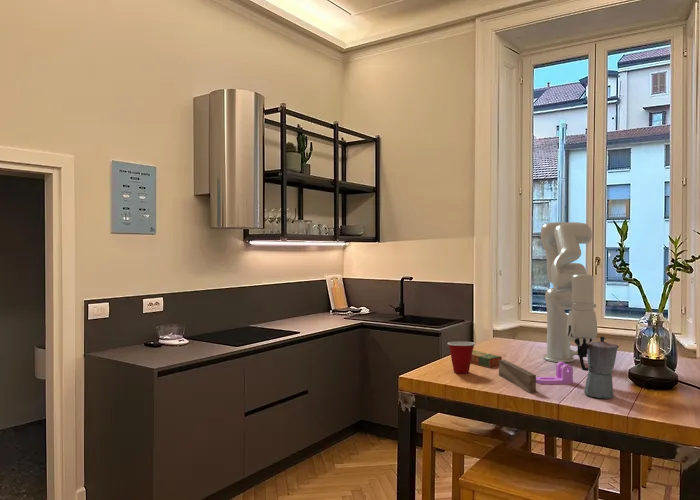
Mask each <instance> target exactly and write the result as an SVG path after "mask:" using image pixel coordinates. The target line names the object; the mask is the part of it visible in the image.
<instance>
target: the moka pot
mask: <svg viewBox="0 0 700 500" xmlns="http://www.w3.org/2000/svg"><path fill="white" fill-rule="evenodd" d="M599 338H600V340H599V341H591V342H589V343H583V344H582V345H581V346H580V347H579V349H578V348H577V351H578V354H579V356H578V358H579V362H580V366H581V369H582V371H585V372H588V373H587V377H586V381H585V386H584V389H583V390H584V391H583V392H584V394H585V395H586V396H589V397H592V398H597V399H606V400H607V399H613V398H614V388H613V387H614V386H613V375H612V374H613V370H614V369H615V364H616V359H617V353H618V352H617V351H618V348H620V346H619V345H618V344H614V343H611V342H610V343H609V342H606V341H605V339H606V336H599ZM583 348H585V349H587V365H588V367H586V366H585V363H584V362H585V361H584V357H583V354H582V349H583Z"/></svg>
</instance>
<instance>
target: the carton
mask: <svg viewBox="0 0 700 500" xmlns="http://www.w3.org/2000/svg"><path fill="white" fill-rule="evenodd" d="M502 358H503V357H502V356H501V355H496V354H492V353H487V352H483V351H480V350H475V349H473V351H472V358H471V365H472V364H474V365H477V366H481V367H484V368H488V369H489V368H495V367H499V360H503V359H502Z"/></svg>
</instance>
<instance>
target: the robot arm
mask: <svg viewBox="0 0 700 500" xmlns="http://www.w3.org/2000/svg"><path fill="white" fill-rule="evenodd" d="M592 238H593V232H592V228H591V227H590V225H589V224H587V223H584V222H573V221H570V222H565V221H562V222H561V221H560V222H559V221H558V222H555V221H553V222H547V223H545V224H543V225H542V227H541V230H540V239H541V243H542V245H543V248H544V250H545V251H544V252H545V254H546V271H547V279H548V282H549V283H550V284H552V286H553V287H550V288H548V289H547V290H546V291H545V293H544V294H545V295H544V300H545V306H546V316H547V317H546V320H547V321H546V324H547V325H546V327H547V328H546V331H547V332H546V354H543V356H542V359H544V360H545V361H549V362H554V363H558V362H564V363H572V362H574V361H575V358H574V356H578V357H579V354H578V349H579V347H580V346H581V345H582V344H583V343H589V342H596V341H597V335H598V321H597V316H596V315H597V314H596V311H595V308H597V304H596V303H594V286H595V285H594V282H595V281H594V276H593V275H592V274H589V273H587V270H586V268H585V265H584V264H583V263H579V262H578V263H577V262H575V261H578V260H579V259H580V258H581V256H582V251H581V247H580V244H582V245H584V244H590V242H591V241H592ZM565 310H567V311H568V310H569V311H568V314H567V313H566V311H565ZM571 342H573V343H574V344H575V345H576V346H577V350H574V349H571ZM582 354H583V358H588V356H587V349H585V348H583V349H582Z"/></svg>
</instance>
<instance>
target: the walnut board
mask: <svg viewBox="0 0 700 500" xmlns="http://www.w3.org/2000/svg"><path fill="white" fill-rule="evenodd" d="M498 376H499V377H501V378H502V379H505V380H506V381H508V382H510V383H511V384H513V385H515V386H517V387H518V388H520V389H521V390H524V391H525V392H527V393H529V394H533V393H537V383H536V377H537V375H536V374H534V373H533V372H531V371H530V370H529V371H528V370H527V369H525V368H522V367H521V366H519V365H517V364H514V363H513V362H511V361H509V360H508V359H502V360H499V366H498Z"/></svg>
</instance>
